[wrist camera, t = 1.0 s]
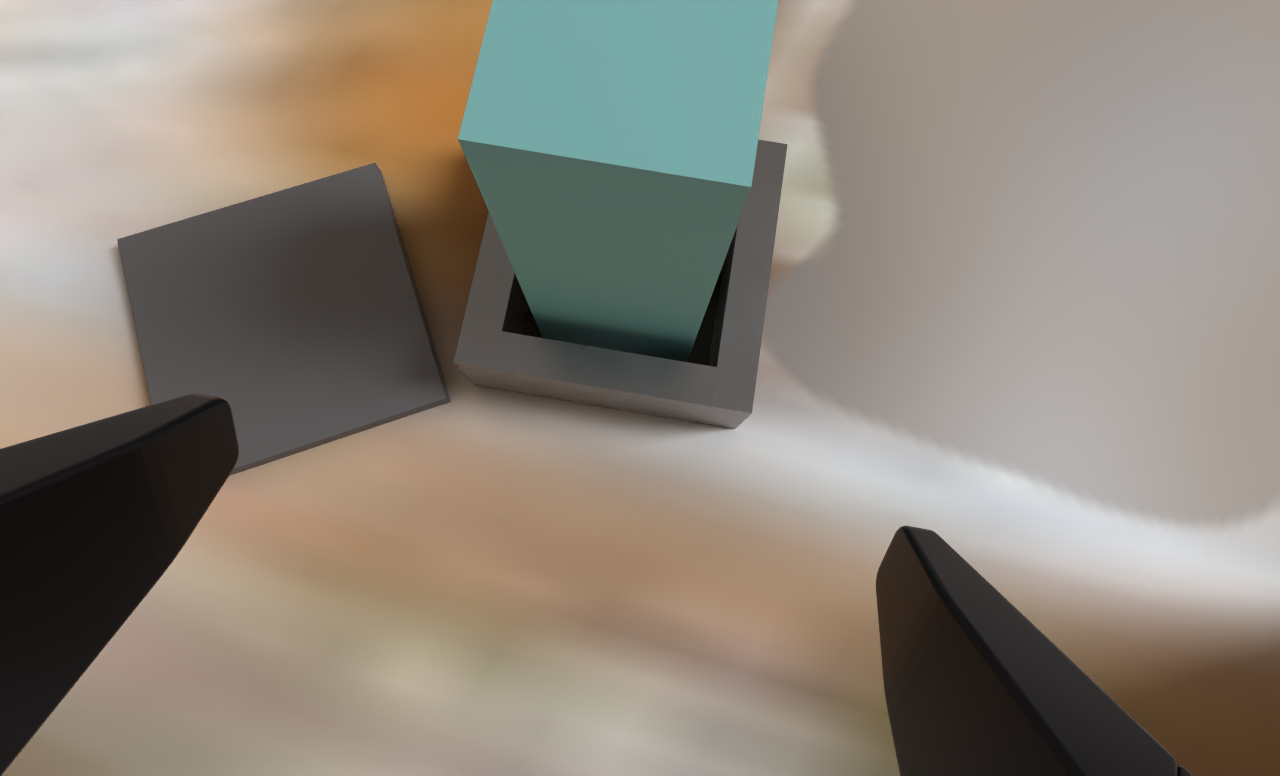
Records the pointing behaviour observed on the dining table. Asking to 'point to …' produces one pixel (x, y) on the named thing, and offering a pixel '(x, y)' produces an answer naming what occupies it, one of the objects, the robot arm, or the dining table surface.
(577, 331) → the teal block
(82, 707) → the dining table surface
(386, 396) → the dark grey pad
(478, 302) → the grey holder
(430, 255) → the dining table surface
